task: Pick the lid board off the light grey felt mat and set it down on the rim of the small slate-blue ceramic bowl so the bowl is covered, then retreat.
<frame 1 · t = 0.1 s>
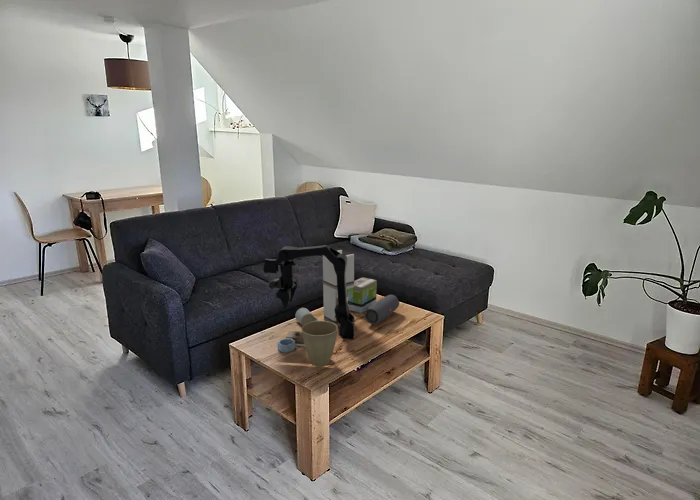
hand: (288, 305, 221), 15 cm above the table, fingers open, 9 cm apart
bowl: (286, 350, 209), on the table
ceramic mug: (307, 324, 236), on the table
tea box: (362, 307, 257), on the table
mat: (297, 342, 216), on the table
plant pot: (320, 362, 198), on the table
bluetooth speaker: (382, 319, 242), on the table
tall grey upright box: (338, 319, 241), on the table
lid: (297, 340, 216), point 1 cm above the table, touching mat
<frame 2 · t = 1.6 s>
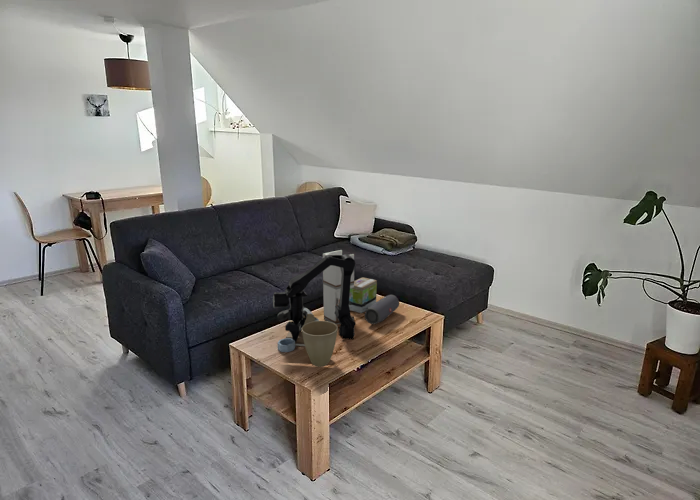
hand: (297, 337, 215), 3 cm above the table, fingers open, 8 cm apart
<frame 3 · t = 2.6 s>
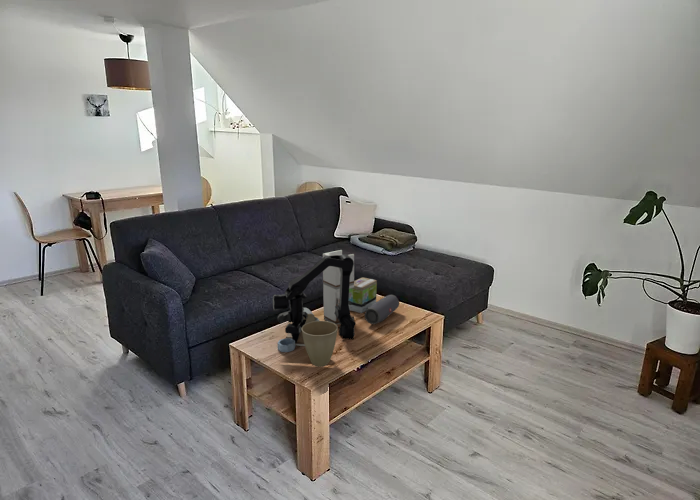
hand: (297, 339, 216), 2 cm above the table, fingers closed on lid, 6 cm apart
lid: (297, 340, 216), point 1 cm above the table, touching gripper
everything else where it was.
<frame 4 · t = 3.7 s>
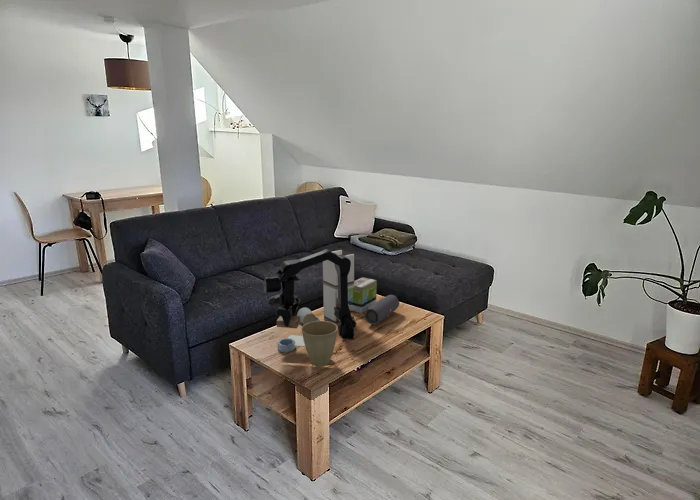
hand: (288, 323, 208), 12 cm above the table, fingers closed on lid, 6 cm apart
lid: (288, 324, 209), point 11 cm above the table, touching gripper
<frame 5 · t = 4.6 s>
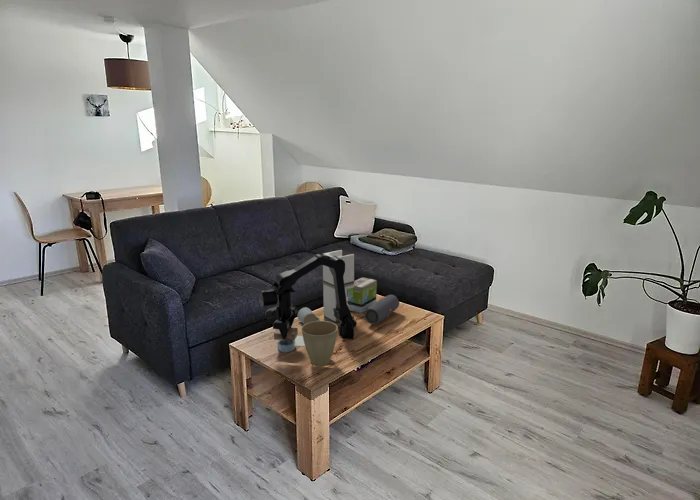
hand: (286, 335, 207), 7 cm above the table, fingers closed on lid, 6 cm apart
lid: (286, 336, 207), point 6 cm above the table, touching gripper
when the fingers open (5 cm above the table, at t = 5.4 s): lid stays where it is, resting on bowl.
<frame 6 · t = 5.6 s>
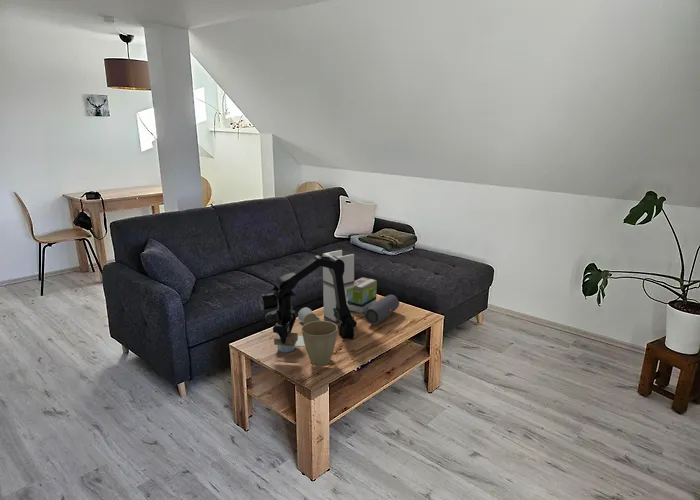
hand: (286, 339, 207), 5 cm above the table, fingers open, 8 cm apart
lid: (286, 341, 208), point 4 cm above the table, touching bowl
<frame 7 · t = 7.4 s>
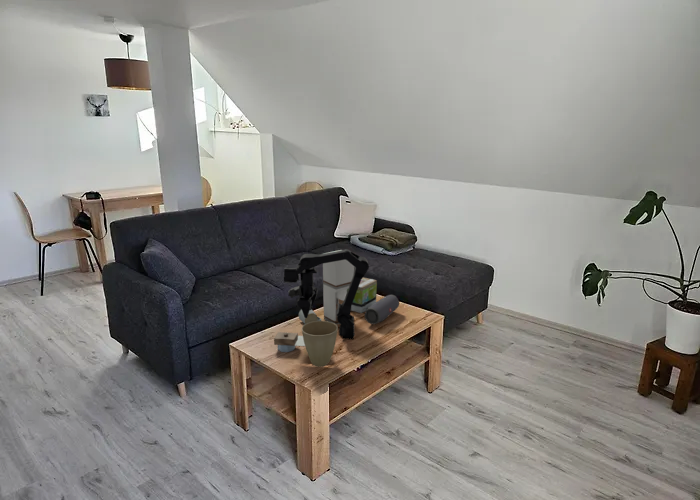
hand: (308, 313, 218), 12 cm above the table, fingers open, 9 cm apart
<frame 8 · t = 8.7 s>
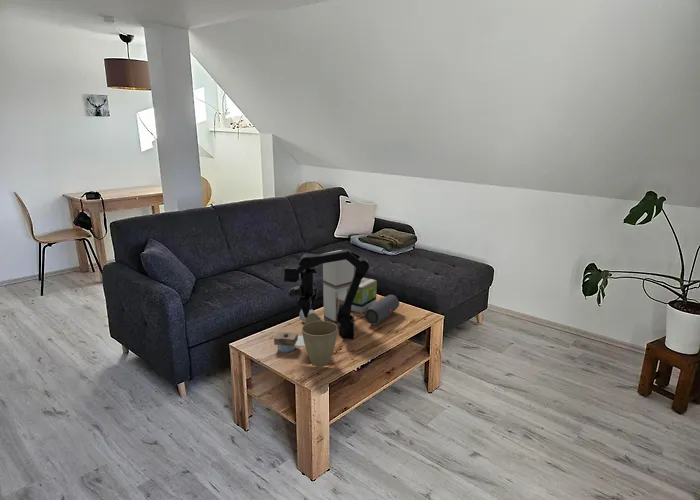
hand: (308, 313, 218), 12 cm above the table, fingers open, 9 cm apart
at the end: lid 0.0 cm off-centre on the bowl, point 4.0 cm above the bowl's base; lid tilted 0°; the gripper is holding nothing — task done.
